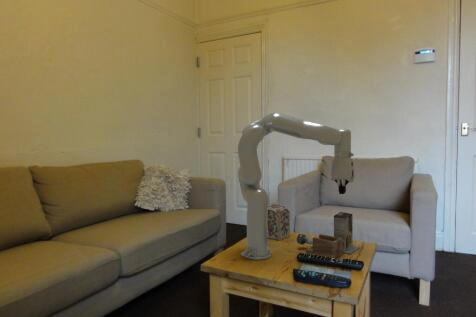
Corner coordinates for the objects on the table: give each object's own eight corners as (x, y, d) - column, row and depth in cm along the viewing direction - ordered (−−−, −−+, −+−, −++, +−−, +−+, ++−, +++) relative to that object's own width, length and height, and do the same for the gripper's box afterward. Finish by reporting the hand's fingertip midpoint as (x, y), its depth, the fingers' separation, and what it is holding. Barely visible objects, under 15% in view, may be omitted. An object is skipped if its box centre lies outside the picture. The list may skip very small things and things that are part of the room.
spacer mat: (350, 254, 160) (350, 253, 160) (326, 249, 167) (326, 248, 167) (360, 247, 169) (360, 246, 169) (336, 243, 177) (336, 241, 177)
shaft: (322, 250, 159) (322, 240, 159) (296, 244, 168) (296, 235, 168) (327, 247, 163) (327, 237, 163) (301, 242, 172) (301, 232, 171)
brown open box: (333, 259, 153) (334, 243, 153) (305, 253, 162) (305, 237, 162) (343, 253, 161) (343, 237, 160) (315, 247, 170) (315, 232, 169)
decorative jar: (279, 241, 181) (279, 206, 180) (260, 237, 188) (260, 204, 187) (290, 235, 191) (290, 203, 190) (272, 232, 198) (272, 200, 197)
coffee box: (339, 243, 174) (340, 211, 173) (352, 246, 170) (353, 213, 169) (333, 248, 166) (333, 215, 165) (346, 251, 163) (346, 217, 161)
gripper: (361, 155, 163) (360, 194, 165) (331, 154, 173) (331, 191, 174) (354, 156, 158) (354, 196, 159) (324, 155, 167) (324, 193, 168)
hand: (342, 193), depth 166 cm, fingers closed
